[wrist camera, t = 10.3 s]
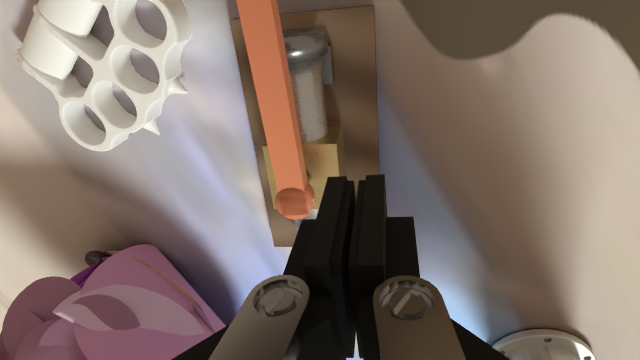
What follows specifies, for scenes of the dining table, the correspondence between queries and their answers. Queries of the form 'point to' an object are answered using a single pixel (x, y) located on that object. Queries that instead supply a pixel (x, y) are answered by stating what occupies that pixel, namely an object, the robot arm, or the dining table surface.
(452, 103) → the dining table surface
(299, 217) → the lever
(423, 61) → the dining table surface
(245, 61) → the valve board
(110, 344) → the flower arrangement
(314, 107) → the water pipe
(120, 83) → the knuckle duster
